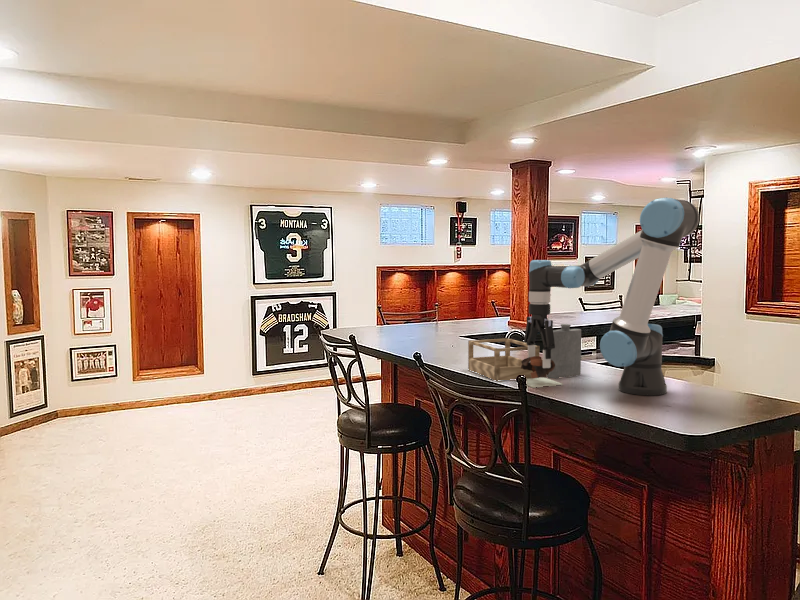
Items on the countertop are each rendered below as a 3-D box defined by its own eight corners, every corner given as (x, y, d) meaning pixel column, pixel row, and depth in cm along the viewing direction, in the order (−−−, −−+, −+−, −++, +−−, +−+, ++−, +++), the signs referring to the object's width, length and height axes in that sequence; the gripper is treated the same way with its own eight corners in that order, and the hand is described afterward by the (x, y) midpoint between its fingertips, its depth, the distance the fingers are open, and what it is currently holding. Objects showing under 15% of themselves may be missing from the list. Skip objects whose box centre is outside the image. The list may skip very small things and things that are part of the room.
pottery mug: (523, 380, 216) (518, 358, 219) (525, 387, 224) (520, 365, 228) (558, 372, 214) (551, 350, 217) (558, 379, 222) (552, 358, 226)
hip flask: (576, 373, 240) (577, 322, 239) (584, 375, 237) (584, 323, 235) (544, 377, 233) (545, 324, 231) (552, 379, 229) (552, 325, 228)
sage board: (562, 385, 218) (562, 383, 218) (532, 387, 214) (532, 386, 214) (544, 379, 230) (544, 377, 230) (515, 381, 226) (515, 379, 226)
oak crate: (539, 378, 231) (539, 346, 230) (496, 381, 225) (496, 349, 225) (508, 367, 254) (508, 338, 253) (468, 370, 248) (468, 340, 247)
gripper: (566, 305, 211) (565, 370, 212) (532, 300, 232) (531, 359, 233) (547, 306, 208) (546, 371, 210) (514, 301, 229) (514, 360, 231)
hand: (538, 365), depth 222 cm, fingers closed on pottery mug, 9 cm apart
